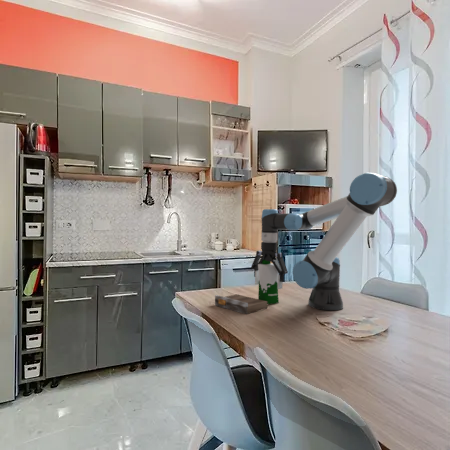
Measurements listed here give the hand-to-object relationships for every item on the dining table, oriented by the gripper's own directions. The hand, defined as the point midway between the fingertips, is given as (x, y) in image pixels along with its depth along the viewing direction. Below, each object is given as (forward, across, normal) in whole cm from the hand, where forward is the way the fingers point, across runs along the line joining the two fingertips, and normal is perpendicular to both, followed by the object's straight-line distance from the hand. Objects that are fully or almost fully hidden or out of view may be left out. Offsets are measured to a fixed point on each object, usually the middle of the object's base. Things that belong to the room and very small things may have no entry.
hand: (268, 286), depth 156 cm
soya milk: (+8, 0, 0) cm, 8 cm away
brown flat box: (+8, -3, -16) cm, 18 cm away
